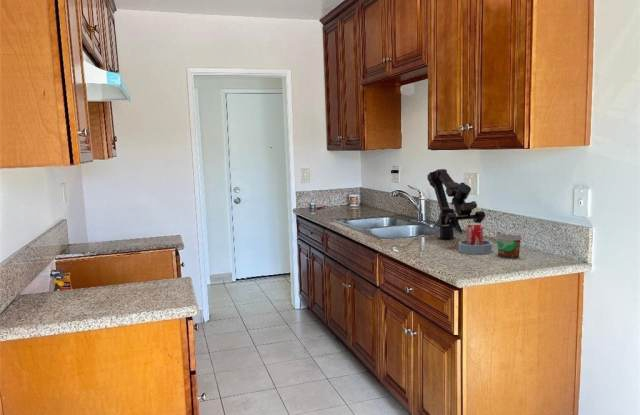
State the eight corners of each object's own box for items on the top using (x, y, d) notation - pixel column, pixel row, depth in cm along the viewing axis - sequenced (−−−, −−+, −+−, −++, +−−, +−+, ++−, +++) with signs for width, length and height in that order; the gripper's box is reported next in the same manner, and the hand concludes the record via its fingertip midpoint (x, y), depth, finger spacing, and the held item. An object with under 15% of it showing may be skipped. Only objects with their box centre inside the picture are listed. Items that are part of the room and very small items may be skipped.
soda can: (463, 248, 229) (463, 223, 228) (475, 247, 232) (475, 222, 231) (473, 251, 223) (473, 225, 222) (486, 249, 226) (486, 223, 224)
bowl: (452, 251, 230) (452, 242, 229) (472, 246, 237) (472, 238, 237) (477, 255, 217) (477, 247, 217) (498, 250, 225) (498, 242, 225)
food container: (489, 255, 218) (489, 232, 217) (499, 253, 221) (499, 231, 220) (511, 260, 207) (511, 236, 206) (521, 258, 210) (521, 235, 209)
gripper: (446, 196, 232) (456, 223, 223) (483, 194, 235) (495, 220, 226) (440, 211, 241) (449, 237, 232) (476, 208, 244) (486, 234, 235)
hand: (470, 232), depth 231 cm, fingers open, 9 cm apart
